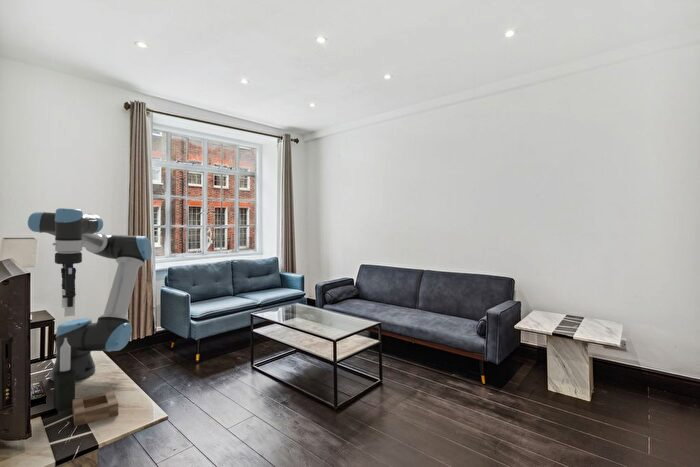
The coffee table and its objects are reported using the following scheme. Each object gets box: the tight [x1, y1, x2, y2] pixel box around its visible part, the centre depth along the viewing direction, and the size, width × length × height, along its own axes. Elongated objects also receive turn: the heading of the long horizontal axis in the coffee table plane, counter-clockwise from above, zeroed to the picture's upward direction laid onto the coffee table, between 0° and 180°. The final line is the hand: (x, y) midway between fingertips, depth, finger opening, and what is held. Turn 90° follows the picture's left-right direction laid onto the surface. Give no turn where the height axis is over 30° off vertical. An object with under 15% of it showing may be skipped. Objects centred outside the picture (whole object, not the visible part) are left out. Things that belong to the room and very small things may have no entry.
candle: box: [53, 338, 76, 412], centre depth 125 cm, size 5×5×25 cm
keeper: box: [71, 389, 119, 427], centre depth 123 cm, size 12×12×4 cm
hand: (68, 311), depth 125 cm, fingers open, 13 cm apart
